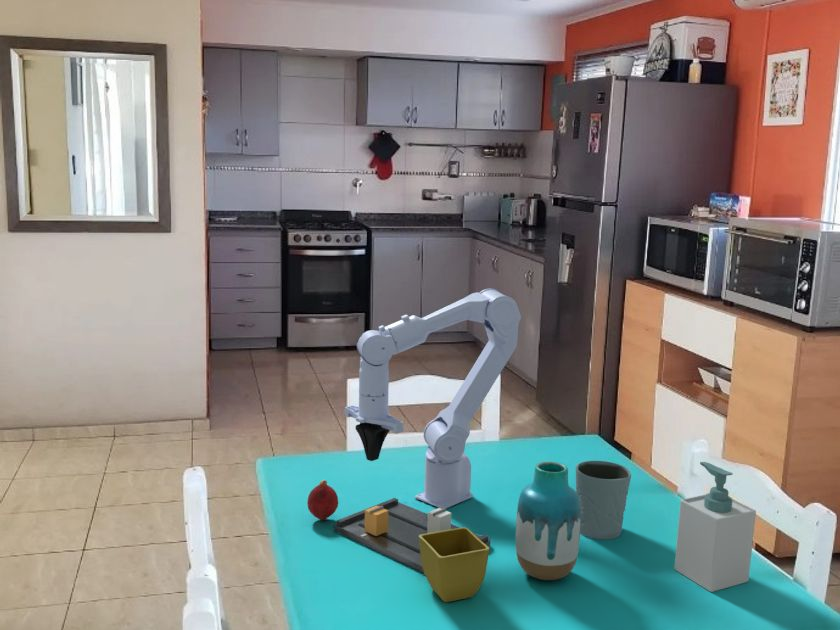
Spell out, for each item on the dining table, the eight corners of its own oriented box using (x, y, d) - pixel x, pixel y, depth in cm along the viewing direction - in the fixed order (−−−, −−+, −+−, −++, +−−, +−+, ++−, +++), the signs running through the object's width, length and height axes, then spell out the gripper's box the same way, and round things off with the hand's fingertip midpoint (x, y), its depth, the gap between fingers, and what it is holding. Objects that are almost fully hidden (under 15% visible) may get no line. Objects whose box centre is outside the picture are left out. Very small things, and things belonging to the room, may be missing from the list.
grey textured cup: (561, 528, 164) (565, 468, 162) (590, 513, 172) (594, 455, 169) (608, 546, 158) (613, 484, 155) (636, 529, 165) (641, 469, 162)
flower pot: (416, 585, 142) (417, 533, 140) (464, 575, 145) (466, 525, 144) (438, 611, 134) (440, 557, 132) (488, 601, 138) (491, 548, 136)
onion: (332, 528, 162) (333, 488, 160) (303, 524, 163) (303, 484, 161) (341, 515, 167) (342, 476, 166) (313, 512, 168) (313, 473, 167)
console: (395, 506, 172) (395, 496, 172) (490, 546, 156) (490, 535, 156) (334, 530, 161) (334, 520, 160) (430, 576, 145) (430, 565, 144)
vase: (562, 596, 140) (569, 484, 136) (502, 578, 145) (508, 469, 141) (586, 570, 148) (594, 464, 145) (529, 554, 154) (535, 451, 150)
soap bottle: (709, 559, 154) (720, 457, 150) (748, 582, 146) (760, 474, 142) (672, 569, 150) (682, 464, 146) (711, 592, 142) (722, 482, 138)
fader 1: (376, 525, 160) (377, 503, 159) (388, 531, 158) (388, 508, 157) (364, 530, 158) (364, 508, 157) (375, 536, 156) (376, 513, 155)
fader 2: (438, 528, 160) (439, 505, 159) (450, 533, 158) (451, 510, 157) (426, 533, 158) (427, 510, 157) (439, 538, 156) (440, 515, 155)
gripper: (333, 388, 171) (332, 454, 173) (385, 405, 161) (384, 474, 164) (359, 382, 176) (358, 446, 178) (411, 397, 166) (410, 465, 169)
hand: (372, 459), depth 171 cm, fingers closed
